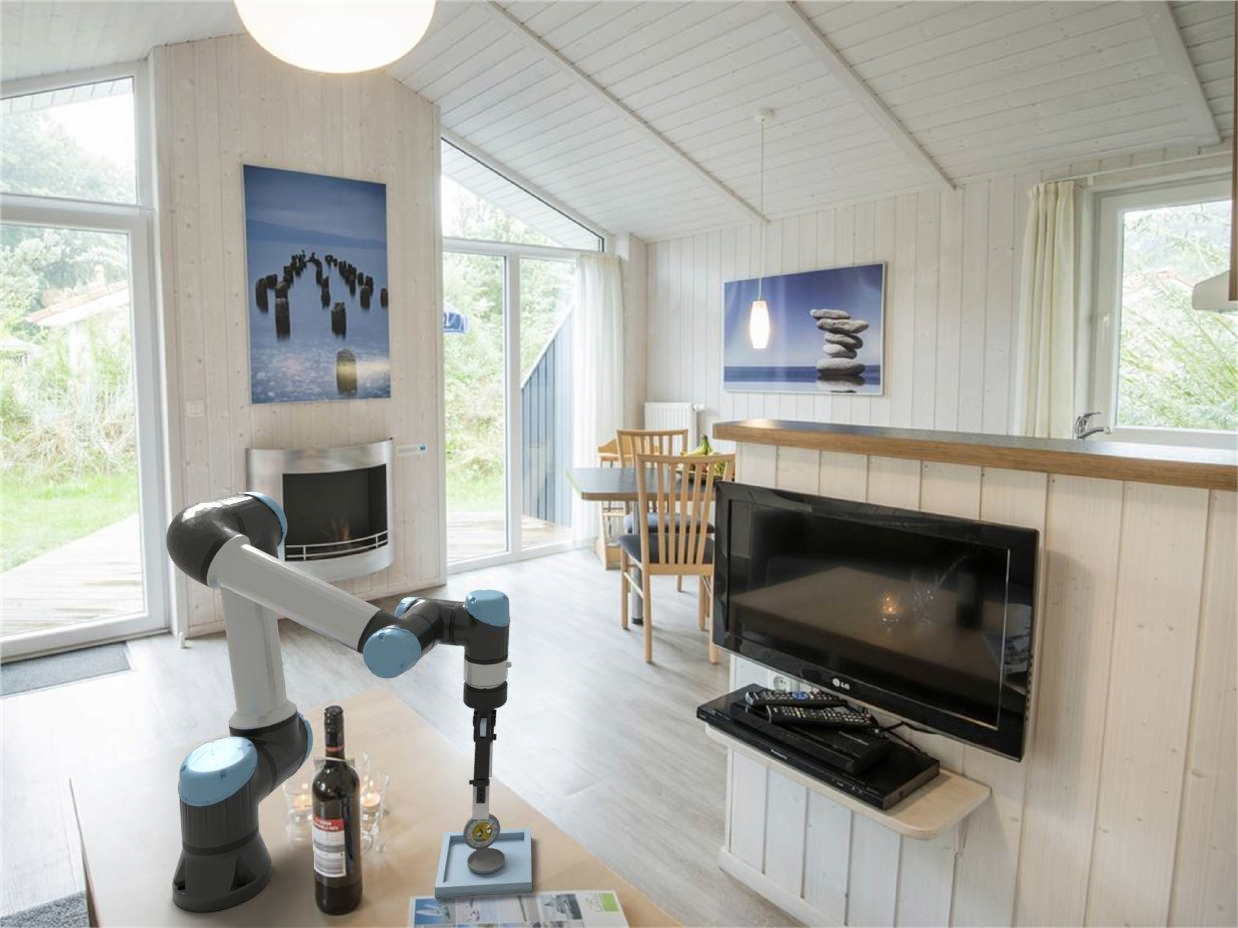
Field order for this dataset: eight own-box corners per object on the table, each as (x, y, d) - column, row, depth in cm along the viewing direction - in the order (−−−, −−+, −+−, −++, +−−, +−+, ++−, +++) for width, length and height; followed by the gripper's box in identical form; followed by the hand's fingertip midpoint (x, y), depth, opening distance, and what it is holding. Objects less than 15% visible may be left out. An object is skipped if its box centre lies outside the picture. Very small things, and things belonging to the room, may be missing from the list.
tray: (434, 897, 134) (434, 887, 134) (444, 841, 150) (444, 832, 150) (531, 891, 136) (531, 881, 136) (530, 836, 152) (530, 827, 152)
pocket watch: (486, 880, 138) (486, 825, 137) (451, 862, 143) (451, 809, 141) (518, 857, 145) (518, 804, 143) (484, 840, 149) (484, 790, 148)
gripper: (506, 711, 127) (502, 837, 130) (509, 654, 152) (505, 760, 154) (457, 712, 126) (454, 838, 129) (468, 654, 151) (466, 761, 154)
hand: (482, 796), depth 142 cm, fingers open, 13 cm apart
